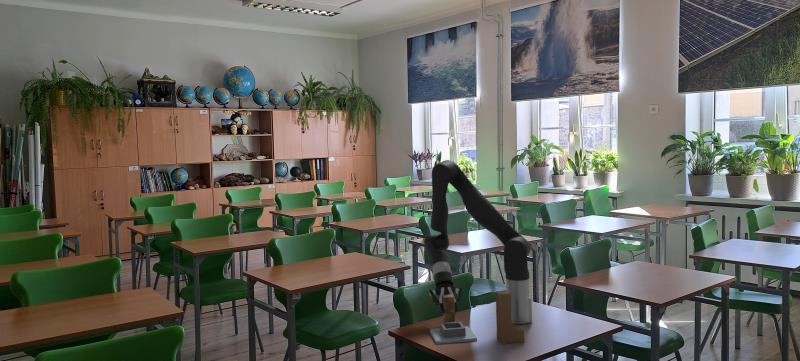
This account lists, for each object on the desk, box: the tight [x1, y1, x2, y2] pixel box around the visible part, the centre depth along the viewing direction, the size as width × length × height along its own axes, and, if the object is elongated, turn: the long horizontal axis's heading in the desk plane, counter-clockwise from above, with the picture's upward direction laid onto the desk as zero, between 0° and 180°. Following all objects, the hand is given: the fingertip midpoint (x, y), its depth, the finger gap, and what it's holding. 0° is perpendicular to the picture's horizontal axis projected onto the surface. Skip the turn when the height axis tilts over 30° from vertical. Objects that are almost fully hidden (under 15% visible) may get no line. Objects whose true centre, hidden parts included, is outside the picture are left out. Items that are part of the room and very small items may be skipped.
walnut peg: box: [442, 294, 456, 323], centre depth 231 cm, size 4×4×12 cm
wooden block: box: [495, 290, 525, 345], centre depth 211 cm, size 9×4×18 cm, turn 97°
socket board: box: [429, 321, 478, 345], centre depth 220 cm, size 15×14×4 cm
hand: (449, 312), depth 230 cm, fingers closed on walnut peg, 4 cm apart
